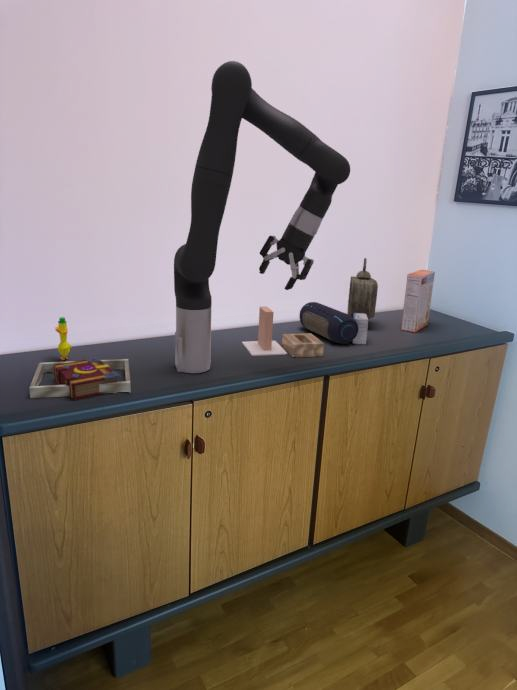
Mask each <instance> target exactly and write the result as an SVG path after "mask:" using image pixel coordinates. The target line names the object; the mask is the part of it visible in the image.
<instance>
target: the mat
mask: <svg viewBox="0 0 517 690" xmlns="http://www.w3.org/2000/svg"><path fill="white" fill-rule="evenodd" d="M241 343H242V345H243V346H244V348H245V350H247V352H248V353H249V354H250V355H251V356H252V357H258V356H259V357H261V356H282V355H283V356H284V355H285V356H286V354H287V355H288V354H289V353H288V352H287V351H286V350H285V349H284V348H283V347H282V345H280V344H279V343H278V342H277V341H276V340H272V348H271V350H263V349H262V348H261V347H260V345H259V344H258V340H250V341H241Z"/></svg>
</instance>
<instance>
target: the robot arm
mask: <svg viewBox="0 0 517 690" xmlns="http://www.w3.org/2000/svg"><path fill="white" fill-rule="evenodd" d="M210 87H211V90H210V91H211V97H210V98H211V101H210V107H209V108H210V109H209V117H208V122H207V126H206V129H205V132H204V135H203V139H202V140H201V141H202V142H201V144H200V147H199V151H198V155H197V158H196V163H195V166H194V172H193V176H192V181H191V190H190V192H191V193H190V213H191V214H190V215H191V216H190V227H189V231H188V234H187V235H188V236H187V239H186V241H185V242H186V243H184V244H182V245H181V246H179V247H178V248H177V250H176V252H175V254H174V258H173V282H174V283H173V286H174V287H173V288H174V296H175V332H174V349H175V350H174V355H175V356H174V365H175V369H176V371H177V373H186V374H200V373H205V372H208V371H209V370H210V369H211V361H212V360H211V351H212V350H211V349H212V348H211V345H212V344H211V342H212V305H213V304H212V303H213V301H212V295H211V290H210V284H209V283H210V281H209V280H210V278H211V276H212V275H213V273H214V271H215V269H216V268H215V267H216V264H217V263H216V262H217V261H216V260H217V253H218V252H217V251H218V241H219V235H220V229H221V225H222V222H223V218H224V215H225V209H226V207H227V201H228V198H229V194H230V189H231V185H232V182H233V181H232V180H233V177H234V170H235V164H236V155H237V146H238V138H239V132H240V126H241V123H242V119H243V120H244V121H247V122H248V123H249V124H251V125H253V126H254V127H256V128H257V129H259V131H261V132H263V134H265V135H266V136H268V137H269V138H270V139H272V141H274V142H275V143H276V144H278V145H279V146H280V147H282V148H283V149H284V150H286V152H288V153H289V154H290V155H292V156H293V157H294V158H295V159H297V160H298V161H300V163H301V162H302V163H303V164H305V165H306V166H308V167H309V168H310V169H311V170H312V171H314V172H315V173H314V175H313V177H312V180H311V182H310V185H309V187H308V190H307V191H306V192H305V194H304V196H303V198H302V200H301V202H300V203H299V206H298V207H297V209H296V210H295V212H294V214H293V215H292V217H291V218H290V220H289V223H288V225H287V226H286V229H285V230H284V232H283V233H282V236H281V238H280V239H277V238H276V236H275V235H269V236H268V238H267V239H266V241H265V242H264V244H263V246H262V248H261V249H260V251H259V255H260V256H261V257H262V259H263V260H262V262H261V263H260V265H259V267H258V268H259V269H258V270H259V272H258V273H259V274H261V275H263V274H265V273H266V270H267V269H268V267H269V265H270V263H271V260H274V259H276V258H278V260H280V261H282V262H284V263H285V264H286V265H287V266H289V265H290V270H291V271H290V272H291V277H289V280H287V283H286V285H285V286H284V290H286V291H288V290H292V289H293V288H294V285H295V283H296V282H297V281H298V280H300V281H304V280H306V279H307V276H308V274H309V272H310V270H311V269H312V267H313V264H314V259H312V258H310V257H307V256H306V252H307V250H308V249H309V246H310V244H311V243H312V241H313V240H314V238H315V236H316V234H317V233H318V231H319V228H320V226H321V224H322V221H323V219H324V218H325V216H326V214H327V212H328V211H329V208H330V206H331V205H332V200H333V195H334V193H335V192H336V189H337V188H338V185H341V184H343V183H345V182H346V181H347V180H348V179H349V176H350V174H351V165H350V163H349V161H348V159H347V158H346V157H345V156H344V155H343V154H341V153H340V152H338V151H337V150H335V149H334V148H332V147H331V146H329V145H328V144H327V143H325V142H324V141H323V140H321V139H320V138H319V136H318V135H317V134H316V133H313V132H312V131H311V130H310V129H309V128H308V127H306V125H304V124H303V123H301V121H299V120H297V119H295V118H294V117H292V116H291V115H289V114H286V113H285V112H283V111H281V110H280V109H278V108H276V107H275V106H273V105H271V104H270V103H269V102H267V101H266V100H265V99H264V98H263V97H261V96H260V94H258V93H257V92H256V90H254V89H253V83H252V78H251V75H250V71H249V70H248V69H247V68H246V66H245V65H244V64H242V63H241V62H239V61H236V60H230V61H226V62H224V63H223V64H220V66H219V67H217V69H216V70H215V72H214V73H213V75H212V80H211V86H210ZM275 245H276V250H275V251H273V252H271V253H269V251H270V250H271V248H272V246H275ZM268 253H269V254H268ZM302 261H303V267H302V269H301V271H300V264H299V262H302Z"/></svg>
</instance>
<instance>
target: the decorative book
mask: <svg viewBox="0 0 517 690" xmlns="http://www.w3.org/2000/svg"><path fill="white" fill-rule="evenodd" d="M101 360H102V359H100V358H99V357H98V356H95V357H90V358H84V359H83V358H82V360H74V361H75V362H69V361H68V362H69V363H63V364H57V365H54V373H53V375H54V381H56V385H67V386H69V391H70V396H69V397H70V398H71V399H72V400H73V401H76V400H81V399H87V398H91V396H92V397H96V396H95V395H97V396H100V395H99V394H101V395H105V394H104V392H99V384H103V383H109V382H118V379H120V378H121V375H120V374H119V373H118V372H116V371H115V370H111V369H110V366H109V365H107V364H106V365H105V364H104V363H103V362H102V361H101ZM105 393H106V392H105Z"/></svg>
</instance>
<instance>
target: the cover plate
mask: <svg viewBox="0 0 517 690" xmlns="http://www.w3.org/2000/svg"><path fill="white" fill-rule="evenodd" d="M258 311H259V313H258V315H259V316H258V331H257V332H258V335H257V336H258V337H257V341H258V344H259V345H260V347H261V348H262V349H263V350H271V348H272V341H273V327H274V325H273V324H274V311H273V310H271V308H269V307H268V306H267V305H266V306H259V310H258Z"/></svg>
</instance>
